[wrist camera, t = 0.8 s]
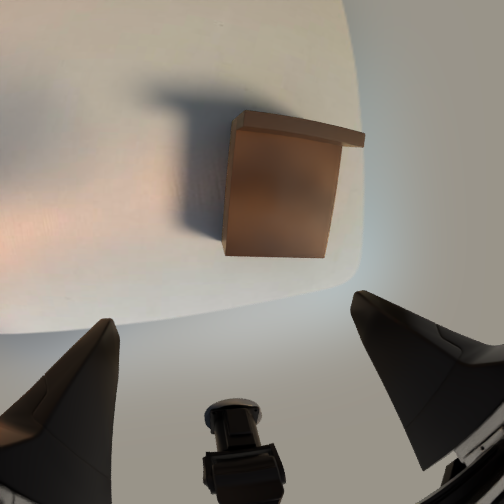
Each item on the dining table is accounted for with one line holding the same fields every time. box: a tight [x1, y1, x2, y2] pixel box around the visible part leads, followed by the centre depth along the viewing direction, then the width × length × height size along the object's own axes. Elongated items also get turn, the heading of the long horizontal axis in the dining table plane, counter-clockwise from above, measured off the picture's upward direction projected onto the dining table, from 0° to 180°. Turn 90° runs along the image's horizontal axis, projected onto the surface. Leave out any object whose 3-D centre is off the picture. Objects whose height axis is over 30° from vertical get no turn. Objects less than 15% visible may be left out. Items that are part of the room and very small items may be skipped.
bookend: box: [222, 110, 365, 258], centre depth 19 cm, size 10×8×6 cm
